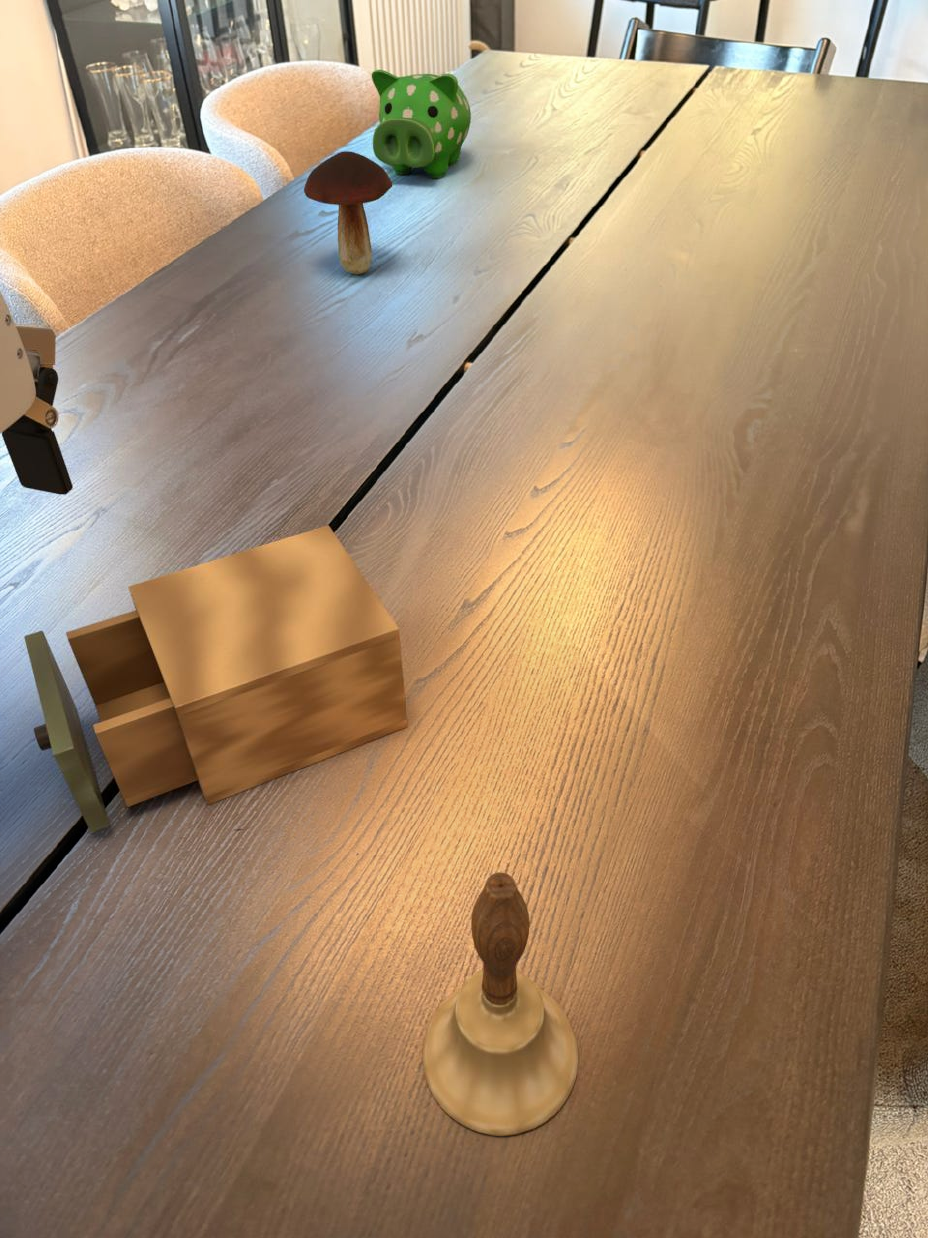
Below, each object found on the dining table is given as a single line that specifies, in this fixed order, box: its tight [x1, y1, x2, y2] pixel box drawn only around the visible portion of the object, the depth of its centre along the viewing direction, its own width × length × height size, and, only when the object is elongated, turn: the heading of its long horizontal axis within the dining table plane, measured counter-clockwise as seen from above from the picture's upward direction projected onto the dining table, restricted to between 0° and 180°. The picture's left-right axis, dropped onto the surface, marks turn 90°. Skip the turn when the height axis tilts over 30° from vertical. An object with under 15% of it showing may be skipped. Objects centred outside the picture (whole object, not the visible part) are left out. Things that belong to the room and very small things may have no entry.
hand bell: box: [421, 871, 580, 1137], centre depth 45 cm, size 8×8×16 cm
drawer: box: [23, 609, 198, 833], centre depth 64 cm, size 15×11×8 cm
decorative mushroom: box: [303, 150, 393, 275], centre depth 122 cm, size 11×11×15 cm
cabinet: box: [128, 524, 408, 806], centre depth 66 cm, size 15×13×10 cm
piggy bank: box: [371, 69, 472, 179], centre depth 152 cm, size 14×18×15 cm
